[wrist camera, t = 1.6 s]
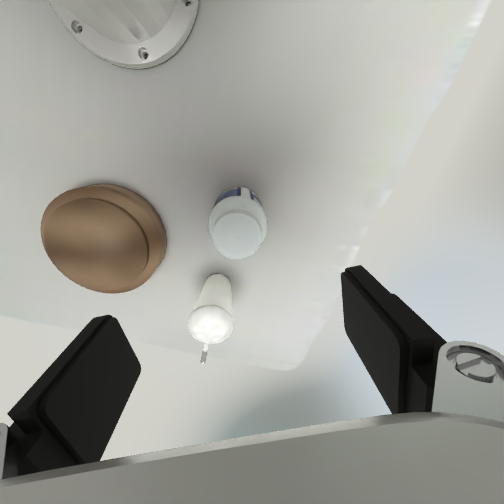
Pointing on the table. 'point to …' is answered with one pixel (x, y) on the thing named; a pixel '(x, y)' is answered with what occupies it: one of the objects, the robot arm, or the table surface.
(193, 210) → the table surface
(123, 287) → the walnut stand
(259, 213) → the pill bottle
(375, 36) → the table surface
